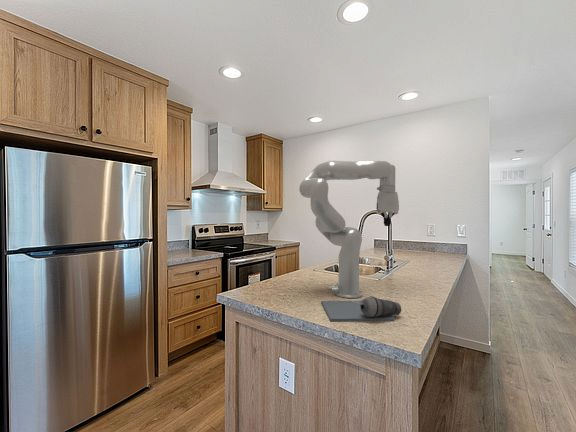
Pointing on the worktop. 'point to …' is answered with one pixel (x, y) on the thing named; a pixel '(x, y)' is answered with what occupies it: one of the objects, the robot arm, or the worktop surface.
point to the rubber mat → (349, 312)
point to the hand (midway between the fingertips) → (387, 225)
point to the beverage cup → (379, 307)
